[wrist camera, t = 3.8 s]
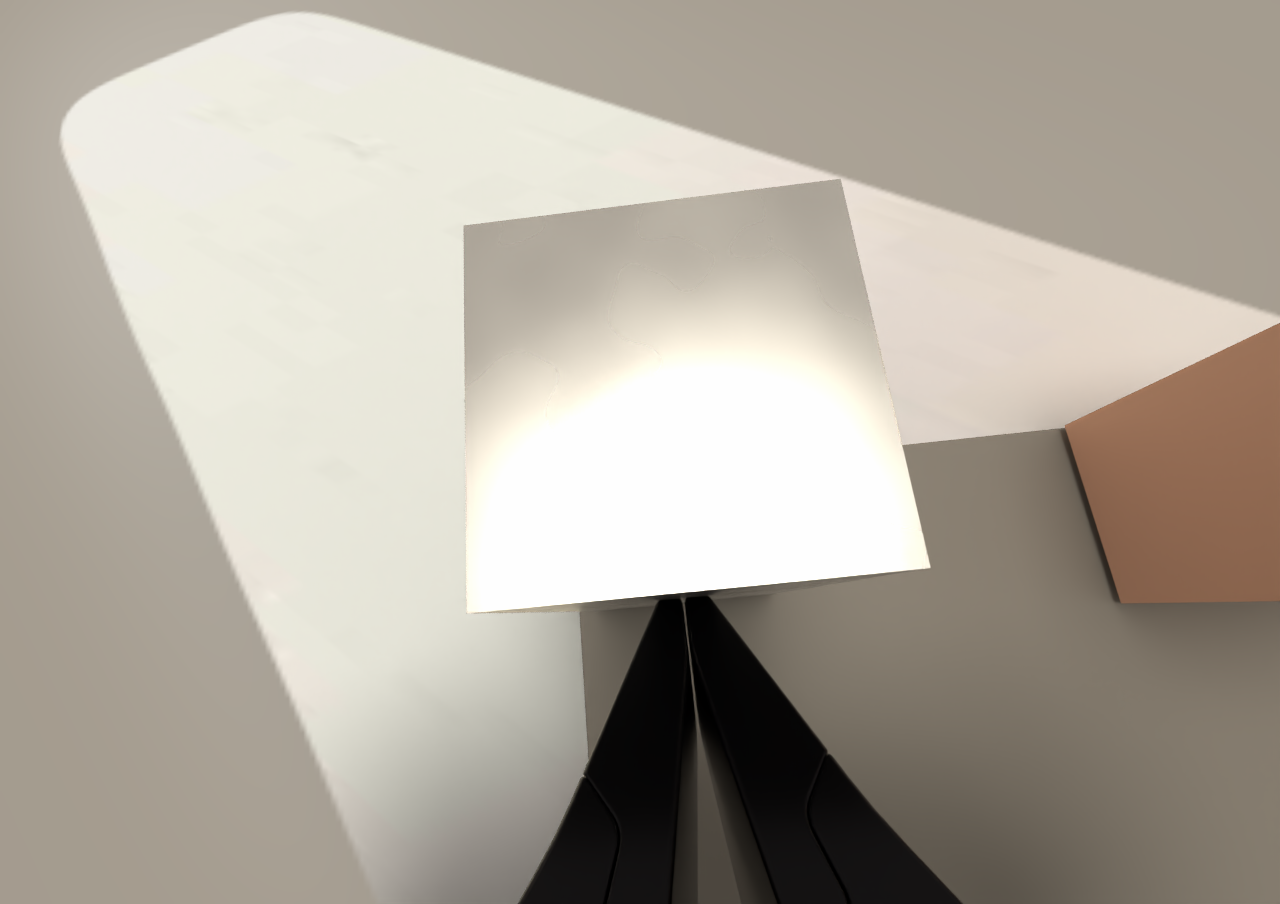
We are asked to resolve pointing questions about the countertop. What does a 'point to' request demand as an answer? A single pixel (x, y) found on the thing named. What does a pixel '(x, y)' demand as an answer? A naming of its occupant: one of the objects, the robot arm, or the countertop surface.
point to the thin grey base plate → (1018, 700)
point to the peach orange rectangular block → (1191, 479)
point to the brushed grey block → (677, 406)
